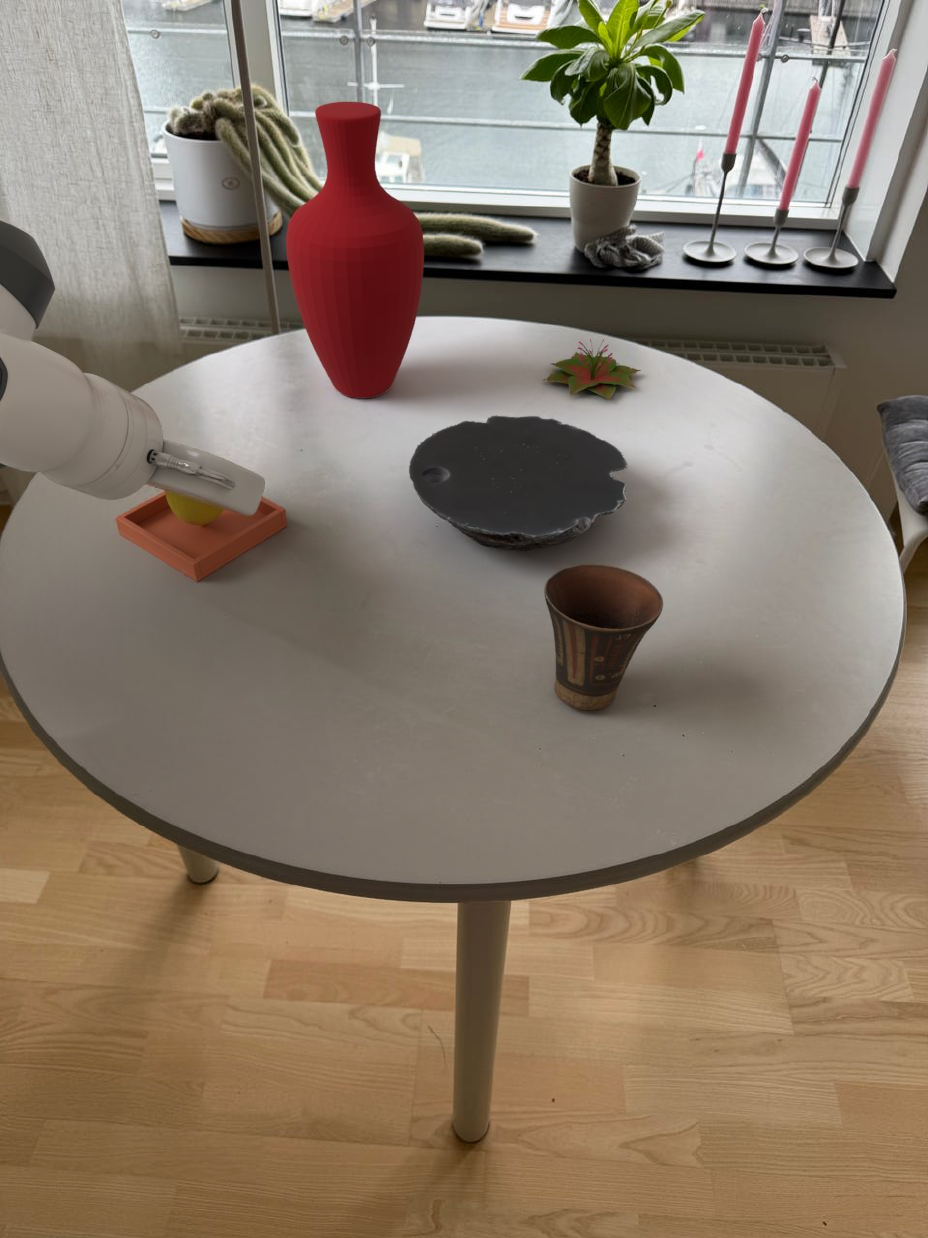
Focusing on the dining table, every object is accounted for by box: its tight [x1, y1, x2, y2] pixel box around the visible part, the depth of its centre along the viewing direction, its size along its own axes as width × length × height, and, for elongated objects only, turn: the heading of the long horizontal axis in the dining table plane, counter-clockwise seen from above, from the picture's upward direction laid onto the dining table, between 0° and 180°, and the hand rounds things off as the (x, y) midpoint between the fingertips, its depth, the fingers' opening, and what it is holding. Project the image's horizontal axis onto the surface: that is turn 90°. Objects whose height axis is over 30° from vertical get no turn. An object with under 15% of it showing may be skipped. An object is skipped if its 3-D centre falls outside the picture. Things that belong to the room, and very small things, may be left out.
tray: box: [114, 490, 288, 583], centre depth 92 cm, size 11×11×2 cm
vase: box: [285, 101, 425, 399], centre depth 105 cm, size 15×15×30 cm
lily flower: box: [541, 338, 642, 401], centre depth 115 cm, size 12×12×5 cm
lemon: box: [164, 490, 224, 526], centre depth 90 cm, size 6×6×8 cm
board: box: [408, 414, 629, 552], centre depth 94 cm, size 22×22×5 cm
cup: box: [543, 563, 664, 711], centre depth 75 cm, size 9×9×10 cm
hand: (199, 483), depth 90 cm, fingers closed on lemon, 5 cm apart
